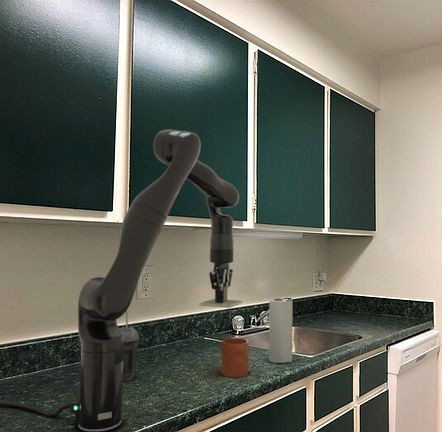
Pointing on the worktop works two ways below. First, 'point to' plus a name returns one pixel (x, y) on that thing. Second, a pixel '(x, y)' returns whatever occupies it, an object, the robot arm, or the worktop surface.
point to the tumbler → (234, 357)
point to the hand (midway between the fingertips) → (221, 301)
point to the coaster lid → (224, 303)
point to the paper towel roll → (280, 331)
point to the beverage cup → (129, 350)
